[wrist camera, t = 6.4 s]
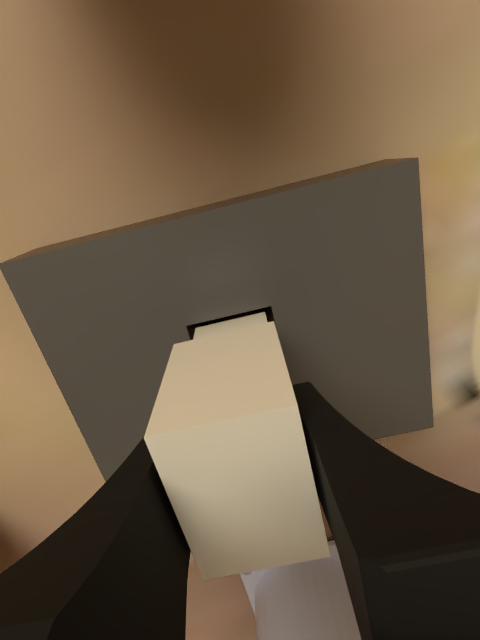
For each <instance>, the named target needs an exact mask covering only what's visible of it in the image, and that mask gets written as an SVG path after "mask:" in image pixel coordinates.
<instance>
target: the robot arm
mask: <svg viewBox="0 0 480 640" xmlns="http://www.w3.org/2000/svg"><path fill="white" fill-rule="evenodd" d="M292 387H293V391H294V394H295V398H296V401H297V405H298V409H299V414H300V418H301V423H302V427H303V432H304V437H305V441H306V446H307V450H308V455H309V459H310V464H311V469H312V473H313V478H314V482H315V487H316V491H317V494H318V497H319V500H320V502H321V505H322V508H323V511H324V513H325V516H326V519H327V522H328V524H329V527H330V530H331V533H332V535H333V538H334V540H332V541H327V542H328V547H329V551H330V556H331V557H327V558H322V559H317V560H311V561H306V562H301V563H295V564H290V565H285V566H279V567H274V568H268V569H263V570H258V571H252V572H247V573H242V574H240V575H241V578H242V581H243V584H244V586H245V589H246V592H247V595H248V598H249V600H250V603H251V606H252V609H253V611H254V614H255V617H256V631H257V640H480V494H479V493H476V492H473V491H470V490H468V489H465V488H463V487H460V486H458V485H456V484H454V483H451V482H449V481H447V480H444V479H442V478H440V477H437V476H435V475H433V474H431V473H429V472H427V471H425V470H423V469H421V468H419V467H418V466H416V465H414V464H412V463H410V462H408V461H406V460H404V459H402V458H401V457H399V456H397V455H396V454H394V453H392V452H391V451H389V450H388V449H386V448H385V447H383V446H382V445H380V444H378V443H377V442H376V441H374V440H373V439H371V438H370V437H369V436H367V435H366V434H365V433H363V432H362V431H361V430H359V429H358V428H357V427H356V426H354V425H353V424H352V423H351V422H349V421H348V420H347V419H346V418H345V417H344V416H343V415H341V414H340V413H339V412H338V411H337V410H336V409H335V408H334V407H333V406H332V405H331V404H330V403H329V402H328V401H327V400H326V399H325V398H324V397H323V396H322V395H321V394H320V393H319V392H318V391H317V389H316V388H315V387H314V386H313V384H312V383H310V382H304V383H299V384H295V385H292ZM190 551H191V550H190V547H189V545H188V542H187V540H186V538H185V535H184V533H183V531H182V528H181V526H180V523H179V521H178V519H177V516H176V514H175V511H174V509H173V507H172V504H171V502H170V500H169V497H168V495H167V492H166V490H165V488H164V485H163V483H162V480H161V478H160V476H159V473H158V471H157V469H156V466H155V464H154V461H153V459H152V457H151V454H150V452H149V450H148V447H147V445H146V442H145V440H144V437H143V438H142V440H141V441H140V442H139V443H138V445H137V446H136V447H135V448H134V450H133V451H132V452H131V453H130V455H129V456H128V457H127V458H126V460H125V461H124V462H123V463H122V464H121V465H120V466H119V468H118V469H117V470H116V471H115V472H114V473H113V475H112V476H111V477H110V478H109V479H108V480H107V481H106V483H105V484H104V485H103V486H102V487H101V488H100V489H99V490H98V491H97V492H96V493H95V494H94V495H93V496H92V497H91V498H90V499H89V500H88V501H87V502H86V503H85V504H84V505H83V506H82V507H81V508H80V509H79V510H78V511H77V512H76V513H75V514H74V515H73V516H72V517H71V518H69V519H68V520H67V521H66V522H65V523H64V524H62V525H61V526H60V527H59V528H58V529H57V530H55V531H54V532H53V533H52V534H51V535H50V536H49V537H47V538H46V539H45V540H44V541H43V542H42V543H40V544H39V545H38V546H37V547H35V548H34V549H33V550H32V551H30V552H29V553H28V554H26V555H25V556H24V557H23V558H21V559H20V560H19V561H17V562H16V563H15V564H13V565H12V566H11V567H9V568H8V569H7V570H5V571H4V572H2V573H1V574H0V640H185V627H186V598H187V578H188V567H189V559H190Z"/></svg>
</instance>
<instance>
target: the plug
mask: <svg viewBox="0 0 480 640" xmlns="http://www.w3.org/2000/svg"><path fill="white" fill-rule="evenodd" d="M144 440H145V442H146V445H147V447H148V450H149V452H150V454H151V457H152V459H153V461H154V464H155V466H156V469H157V471H158V473H159V476H160V478H161V480H162V483H163V485H164V488H165V490H166V492H167V495H168V497H169V500H170V502H171V504H172V507H173V509H174V511H175V514H176V516H177V519H178V521H179V523H180V526H181V528H182V531H183V533H184V535H185V538H186V540H187V542H188V545H189V547H190V550H191V552H192V554H193V557H194V559H195V562H196V564H197V566H198V569H199V571H200V573H201V576H202V578H203V581H204V580H210V579H215V578H220V577H226V576H231V575H236V574H242V573H247V572H252V571H258V570H263V569H268V568H274V567H279V566H285V565H290V564H295V563H301V562H306V561H311V560H317V559H322V558H327V557H331V556H330V551H329V547H328V542H327V537H326V533H325V528H324V524H323V519H322V514H321V510H320V505H319V501H318V496H317V492H316V487H315V482H314V478H313V473H312V469H311V464H310V459H309V455H308V450H307V446H306V441H305V437H304V432H303V427H302V423H301V418H300V414H299V409H298V405H297V401H296V398H295V394H294V391H293V387H292V383H291V380H290V376H289V373H288V369H287V366H286V362H285V359H284V355H283V352H282V348H281V345H280V341H279V338H278V334H277V331H276V327H275V324H274V321H272V322H267V318H266V314H265V312H262V313H257V314H253V315H249V316H245V317H240V318H236V319H232V320H227V321H223V322H219V323H215V324H210V325H206V326H202V327H197V328H195V333H194V338H193V340H190V341H185V342H181V343H177V344H174V345H173V348H172V351H171V355H170V358H169V361H168V364H167V367H166V370H165V373H164V376H163V379H162V383H161V386H160V389H159V392H158V395H157V398H156V401H155V404H154V408H153V411H152V414H151V417H150V420H149V423H148V426H147V429H146V432H145V436H144Z"/></svg>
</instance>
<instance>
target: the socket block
mask: <svg viewBox="0 0 480 640" xmlns="http://www.w3.org/2000/svg"><path fill="white" fill-rule="evenodd" d="M0 269H1V271H2V273H3V275H4V277H5V279H6V281H7V283H8V285H9V287H10V289H11V291H12V293H13V295H14V297H15V299H16V301H17V303H18V305H19V307H20V309H21V311H22V313H23V315H24V317H25V319H26V321H27V323H28V326H29V328H30V330H31V332H32V334H33V336H34V338H35V340H36V342H37V344H38V346H39V348H40V350H41V352H42V354H43V356H44V358H45V360H46V362H47V364H48V366H49V368H50V370H51V372H52V374H53V376H54V378H55V380H56V382H57V384H58V386H59V388H60V390H61V392H62V394H63V396H64V398H65V400H66V402H67V404H68V406H69V409H70V411H71V413H72V415H73V417H74V419H75V421H76V423H77V425H78V427H79V429H80V431H81V433H82V435H83V437H84V439H85V441H86V443H87V445H88V447H89V449H90V451H91V453H92V455H93V457H94V459H95V461H96V463H97V465H98V467H99V469H100V471H101V473H102V475H103V477H104V479H105V481H107V480H108V479H109V478H110V477H111V476H112V475H113V473H114V472H115V471H116V470H117V469H118V468H119V466H120V465H121V464H122V463H123V462H124V461H125V460H126V458H127V457H128V456H129V455H130V453H131V452H132V451H133V450H134V448H135V447H136V446H137V445H138V443H139V442H140V441H141V440H142V438H143V437H144V436H145V432H146V429H147V426H148V423H149V420H150V417H151V414H152V411H153V408H154V404H155V401H156V398H157V395H158V392H159V389H160V386H161V383H162V379H163V376H164V373H165V370H166V367H167V364H168V361H169V358H170V355H171V351H172V348H173V345H174V344H177V343H181V342H185V341H190V340H193V338H194V333H195V328H197V327H200V324H199V323H201V322H205V321H209V320H214V319H218V318H222V317H226V316H231V315H235V314H239V313H243V312H248V311H252V310H256V309H261V308H265V307H269V306H270V309H271V314H272V318H273V321H274V324H275V327H276V331H277V334H278V338H279V341H280V345H281V348H282V352H283V355H284V359H285V362H286V366H287V369H288V373H289V376H290V380H291V383H292V385H295V384H299V383H304V382H310V383H312V384H313V386H314V387H315V388H316V389H317V391H318V392H319V393H320V394H321V395H322V396H323V397H324V398H325V399H326V400H327V401H328V402H329V403H330V404H331V405H332V406H333V407H334V408H335V409H336V410H337V411H338V412H339V413H340V414H341V415H343V416H344V417H345V418H346V419H347V420H348V421H349V422H351V423H352V424H353V425H354V426H356V427H357V428H358V429H359V430H361V431H362V432H363V433H365V434H366V435H367V436H369V437H370V438H371V439H378V438H383V437H387V436H392V435H397V434H402V433H407V432H412V431H417V430H421V429H426V428H431V427H434V426H433V409H432V391H431V373H430V356H429V338H428V321H427V303H426V285H425V268H424V250H423V232H422V215H421V197H420V180H419V162H418V158H402V159H385V160H382V161H378V162H374V163H370V164H366V165H362V166H358V167H354V168H350V169H346V170H342V171H338V172H335V173H331V174H327V175H323V176H319V177H315V178H311V179H307V180H303V181H299V182H295V183H291V184H287V185H284V186H280V187H276V188H272V189H268V190H264V191H260V192H256V193H252V194H248V195H244V196H240V197H237V198H233V199H229V200H225V201H221V202H217V203H213V204H209V205H205V206H201V207H197V208H193V209H190V210H186V211H182V212H178V213H174V214H170V215H166V216H162V217H158V218H154V219H150V220H146V221H142V222H139V223H135V224H131V225H127V226H123V227H119V228H115V229H111V230H107V231H103V232H99V233H95V234H92V235H88V236H84V237H80V238H76V239H72V240H68V241H64V242H60V243H56V244H52V245H48V246H44V247H41V248H37V249H34V250H32V251H29V252H27V253H24V254H22V255H19V256H17V257H15V258H12V259H10V260H7V261H5V262H3V263H0Z"/></svg>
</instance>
